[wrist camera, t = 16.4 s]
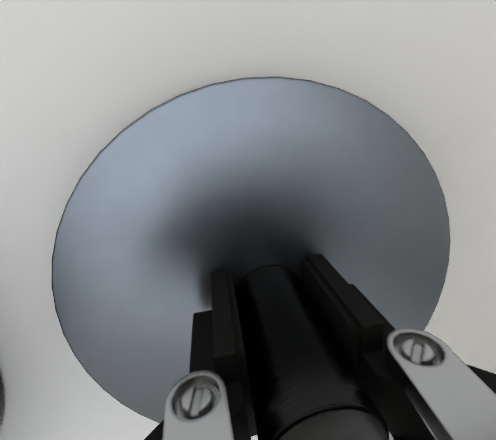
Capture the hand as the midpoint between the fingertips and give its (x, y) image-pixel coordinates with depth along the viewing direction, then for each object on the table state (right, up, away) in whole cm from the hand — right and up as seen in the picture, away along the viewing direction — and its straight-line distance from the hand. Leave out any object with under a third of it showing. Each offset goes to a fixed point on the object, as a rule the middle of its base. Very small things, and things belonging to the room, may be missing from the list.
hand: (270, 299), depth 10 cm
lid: (0, 0, +1) cm, 1 cm away
